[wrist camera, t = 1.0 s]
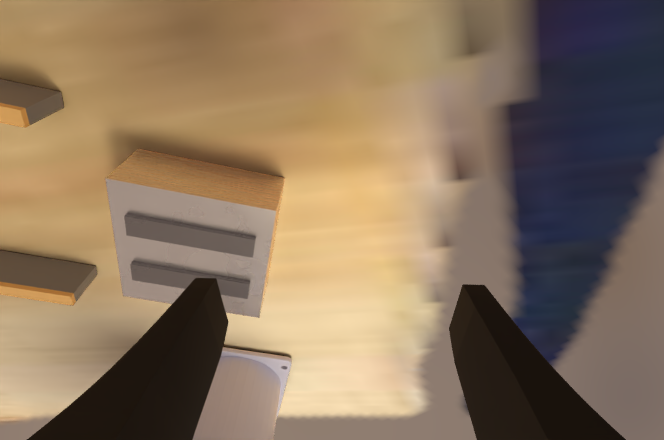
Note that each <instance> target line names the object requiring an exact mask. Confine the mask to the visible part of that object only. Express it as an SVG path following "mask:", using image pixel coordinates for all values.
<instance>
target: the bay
mask: <svg viewBox="0 0 664 440" xmlns="http://www.w3.org/2000/svg"><path fill="white" fill-rule="evenodd" d="M62 108H64V104H63V99H62V94H61V92H59V91H55V90H50V89H45V88H41V87H36V86H31V85H27V84H22V83H17V82H12V81H8V80H3V79H0V123H4V124H9V125H14V126H19V127H24V128H25V127H27V126H29V125H31V124H33V123H35V122H37V121H39V120H41V119H43V118H45V117H47V116H49V115H51V114H53V113H55V112H56V111H58V110H60V109H62ZM96 276H97V270H96V266H93V265H87V264H81V263H75V262H69V261H63V260H57V259H51V258H45V257H39V256H33V255H27V254H21V253H14V252H8V251H2V250H0V294H1V295H8V296H14V297H21V298H27V299H34V300H40V301H47V302H53V303H60V304H66V305H74V304H75V302H76V301H77V300H78V299H79V297H80V296H81V295H82V293H83V292H84V291H85V290H86V288H87V287H88V286H89V285H90V283H91V282H92V281H93V279H94V278H95V277H96Z"/></svg>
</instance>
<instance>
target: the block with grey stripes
mask: <svg viewBox="0 0 664 440" xmlns="http://www.w3.org/2000/svg"><path fill="white" fill-rule="evenodd" d="M105 179H106V186H107V192H108V199H109V205H110V212H111V219H112V225H113V232H114V238H115V245H116V251H117V258H118V265H119V271H120V278H121V284H122V291H123V296H127V297H133V298H139V299H145V300H152V301H158V302H164V303H170V304H173V303H174V302H175V300H176V299H177V298H178V297H179V296H180V295H181V294H182V292H183V291H184V290H185V289H186V288H187V287H188V286H189V284H190V283H191V282H192V281H193V280H194V279H195V278H216V279H217V283H218V286H219V290H220V294H221V297H222V301H223V305H224V308H225V312H227V313H233V314H239V315H246V316H252V317H258V318H259V316H260V312H261V308H262V303H263V299H264V295H265V290H266V286H267V282H268V277H269V271H270V265H271V259H272V253H273V247H274V241H275V235H276V229H277V223H278V216H279V210H280V204H281V198H282V192H283V186H284V180H285V178H283V177H278V176H273V175H268V174H263V173H258V172H253V171H248V170H243V169H238V168H233V167H228V166H223V165H218V164H213V163H208V162H203V161H198V160H193V159H188V158H183V157H178V156H173V155H168V154H163V153H159V152H154V151H149V150H144V149H139V148H138V149H137V150H136V151H135V152H134V153H133V154H132V155H131V156H130V157H128V158H127V159H126V160H125V161H124V162H123V163H122V164H121V165H120V166H118V167H117V168H116V169H115V170H114V171H113V172H112V173H111V174H110V175H109V176H107V177H106V178H105Z"/></svg>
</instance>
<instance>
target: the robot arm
mask: <svg viewBox="0 0 664 440" xmlns="http://www.w3.org/2000/svg"><path fill="white" fill-rule="evenodd" d="M227 326H228V319H227V315H226V312H225V308H224V305H223V301H222V297H221V294H220V290H219V286H218V283H217V279H216V278H195V279H194V280H193V281H192V282H191V283H190V284H189V286H188V287H187V288H186V289H185V290H184V291H183V292H182V294H181V295H180V296H179V297H178V298H177V299H176V300H175V302H174V303H173V304H172V305H171V306H170V307H169V308H168V309H167V310H166V312H165V313H164V314H163V315H162V316H161V317H160V318H159V319H158V320H157V322H156V323H155V324H154V325H153V326H152V327H151V328H150V329H149V330H148V331H147V332H146V333H145V334H144V335H143V337H142V338H141V339H140V340H139V341H138V342H137V343H136V344H135V345H134V346H133V347H132V348H131V349H130V350H129V351H128V352H127V353H126V354H125V355H124V356H123V357H122V358H121V359H120V360H119V361H118V362H117V363H116V364H115V365H114V366H113V367H112V368H111V369H110V370H109V371H107V372H106V373H105V374H104V375H103V376H102V377H101V378H100V379H99V380H98V381H97V382H96V383H94V384H93V385H92V386H91V387H90V388H89V389H88V390H87V391H86V392H84V393H83V394H82V395H81V396H80V397H79V398H78V399H76V400H75V401H74V402H73V403H72V404H71V405H69V406H68V407H67V408H66V409H64V410H63V411H62V412H61V413H60V414H58V415H57V416H56V417H55V418H53V419H52V420H51V421H50V422H49V423H48V424H46V425H45V426H44V427H42V428H41V429H40V430H39V431H37V432H36V433H35V434H34V435H32V436H31V437H30V438H29V439H27V440H273V438H274V431H275V424H276V418H277V417H278V413H279V409H280V406H281V402H282V398H283V394H284V391H285V387H286V383H287V379H288V375H289V372H290V368H291V364H292V360H291V358H289V357H286V356H280V355H273V354H266V353H259V352H253V351H246V350H239V349H232V348H226V347H223V345H224V341H225V336H226V331H227ZM449 331H450V337H451V343H452V350H453V355H454V361H455V365H456V369H457V372H458V376H459V379H460V383H461V386H462V390H463V393H464V397H465V400H466V404H467V407H468V410H469V414H470V417H471V421H472V424H473V427H474V431H475V434H476V438H477V440H626V439H625V438H623V437H622V436H621V435H620V434H619V433H618V432H617V431H616V430H615V429H614V428H612V427H611V426H610V425H609V424H608V423H607V422H606V421H605V420H604V419H603V418H602V417H601V416H600V415H599V414H598V413H597V412H596V411H594V410H593V409H592V408H591V407H590V406H589V405H588V404H587V403H586V402H585V401H584V400H583V399H582V398H581V397H580V396H579V395H578V394H577V393H576V392H575V391H574V389H573V388H572V387H570V385H569V384H568V383H567V382H566V381H565V380H564V379H563V378H562V377H561V376H560V375H559V374H558V372H556V370H555V369H554V368H553V367H552V366H551V365H550V364H549V363H548V362H547V360H546V359H545V358H544V357H543V356H542V355H541V354H540V352H539V351H538V350H537V349H536V348H535V347H534V345H533V344H532V343H531V342H530V341H529V340H528V338H527V337H526V336H525V335H524V334H523V333H522V331H521V330H520V329H519V328H518V326H517V325H516V324H515V323H514V322H513V320H512V319H511V318H510V317H509V315H508V314H507V313H506V312H505V310H504V309H503V308H502V307H501V305H500V304H499V303H498V302H497V300H496V299H495V298H494V297H493V295H492V294H491V293H490V292H489V290H488V289H487V288H486V287H485V286H484V285H462V289H461V292H460V295H459V298H458V301H457V305H456V308H455V311H454V314H453V318H452V321H451V324H450V327H449Z"/></svg>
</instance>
